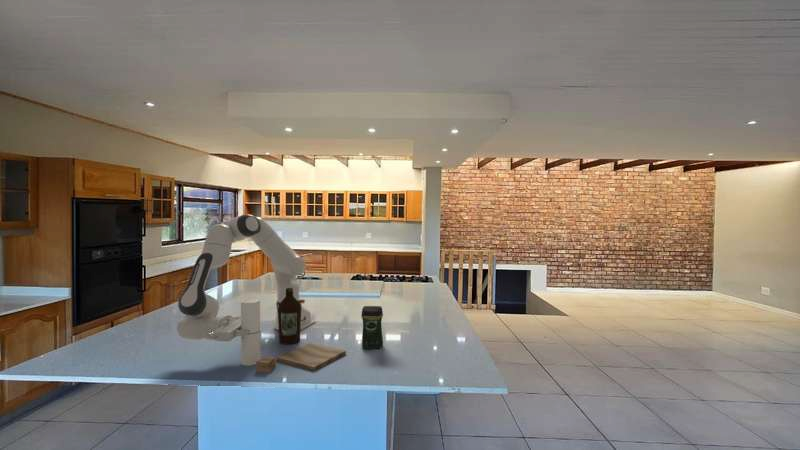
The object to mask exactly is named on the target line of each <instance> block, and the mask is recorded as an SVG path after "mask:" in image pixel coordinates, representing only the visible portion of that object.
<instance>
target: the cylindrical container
mask: <svg viewBox="0 0 800 450" xmlns="http://www.w3.org/2000/svg"><path fill="white" fill-rule="evenodd" d="M240 317H241V330H249V334H248V335H242V336H240V343H241V345H240V346H241V349H240V350H241V351H240V352H241V355H240V356H241V361H240V362H241V365H242V366H247V367H249V366H250V367H251V366H254V365H255V366H256V361H258V360H260V359H261V300H260V299H259V298H248V299H247V298H246V299H242V300H241V301H240Z"/></svg>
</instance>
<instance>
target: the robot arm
mask: <svg viewBox="0 0 800 450" xmlns="http://www.w3.org/2000/svg"><path fill="white" fill-rule="evenodd" d="M247 238H250V239H251V240H252V241H253V243H254V244H255V245H256V246H257V247H258V248H259V249H260V250H261V251H262V253H263V254H264V255H265V256H266V257H268V258H269V259H270V264H271V267H272V269H273V273H274V277H275V282H276V292H277V293H276V294H277V295H276V296H277V300H276V316H275V323H274V328H273V329H274V330H276V331H279V323H278V306H279V304H280V303H281V301H282V300H283V299H284V298H285V297H286V288H293V297H294V298H295V299H296V300H297V301H298V302H299V303H300V305H301V324H300V331H301V330H303V329H305V328H307V327H309V326H312V325H313V324H315V323H316V320H315V319H314V318H312V315H311V311H310V310H308V309H307V308H305V306H303V305H302V304H305V303H306V299H304V298H303V299H302V298H301V299H300V285H299V283H298V280H297V276H299V275H302V274H303V273H304V272H305V271H306V268H307V263H306V261H305V259H304V258H303V257H301V255H299V254H298V253H297V252H296V251H295V250H294V249H293V248H291V247H290V245H288V244H287V243H286V242H285V241H284V240H283V239H282V238H281V237H280V235H279V234H278V233H277V232H276V231H275V230H274V229H273V227H272V226H271V225H270V224H269V223H268V222H267V221H265V220H264V219H263V218H262V217H259V216H255V215H253V214H247V213H246V214H242V215H239V216H235V217H233V218H231V219H229V220H227V221H225V222H223V223H218V224H217V223H216V224H213V225H212V226H210V229H209V230H208V232H207V234H206V237H205V240H204V244H203V248H202V250H201V254H200V255H199V256H198V257H197V259H196V260H195V264H194V266H193V268H192V270H191V271H192V272H191V273H190V277H189V278H188V279H189V280H188V281H187V284H186V287H185V289H184V290H183V291H182V293H181V295H180V296H179V299H178V301H177V302H178V303H177V306H178V309H179V311H180V312H181V314H183V315H184V316H183V317H182V318H180V319H179V320H178V322H177V324H176V332H177V335H178V336H179V337H180V338H183V339H185V340H193V341H194V340H195V341H198V340H199V341H200V340H209V341H212V340H213V341H217V342H230V341H232V340H234V339H235V338H237V337H241V336H242V335H248V334H249V330H241V316H233V315H225V316H220V317H219V316H218V317H217V315H218V313H219V309H220V303H219V301H218V299H217V298H215V297H214V296H211V295H210V294H207V293H206V292H205V287H206V284H207V281H208V277H209V275H210V272H211V270H213V269H218V268H220V267H223V266H225V265H226V264H227V263H228V261H229V258H230V256H231V251H232V244H233V243H236V242H240V241H243V240H245V239H247Z"/></svg>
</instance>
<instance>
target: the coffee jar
mask: <svg viewBox="0 0 800 450" xmlns="http://www.w3.org/2000/svg"><path fill="white" fill-rule="evenodd" d="M360 317H361V319H362V334H361V347H362V348H363V349H365V350H380V349H381V348H383V346H384V340H383V339H384V337H383V331H382V330H383V327H382V319H383V317H384V313H383V306H381V305H364V306H363V307H362V310H361V316H360Z"/></svg>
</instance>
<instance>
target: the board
mask: <svg viewBox="0 0 800 450" xmlns="http://www.w3.org/2000/svg"><path fill="white" fill-rule="evenodd" d="M346 351H347V350H344V349H341V348H336V347H332V346H331V347H330V346H326V345H321V344H318V343H314V342H309V343H307V344H303V345H302V346H299V347H297V348H294V349H293V350H290V351H288V352H286V353H283V354H281V355H279V356H276V362H279V363H283V364H286V365H290V366H294V367H298V368H302V369H306V370H307V371H308V370H309V371H313V372H315V371H317V370H319V369H320V368H322V367H324V366H326V365H328V364H330V363H332V362H334V361H335V360H338V359H339V358H341V357H343V356H345V355H346V354H347V352H346Z"/></svg>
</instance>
